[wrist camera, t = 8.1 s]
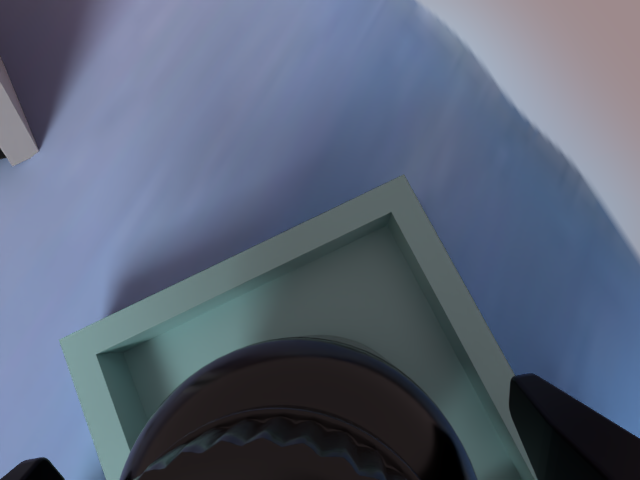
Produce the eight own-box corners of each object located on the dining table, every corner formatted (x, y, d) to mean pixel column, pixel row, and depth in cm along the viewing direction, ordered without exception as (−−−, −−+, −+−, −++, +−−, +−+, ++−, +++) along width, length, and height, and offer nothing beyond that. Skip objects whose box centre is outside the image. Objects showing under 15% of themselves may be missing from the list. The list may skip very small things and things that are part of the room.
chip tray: (575, 524, 16) (616, 558, 13) (227, 703, 15) (204, 771, 13) (397, 196, 19) (403, 174, 16) (98, 339, 18) (59, 339, 16)
